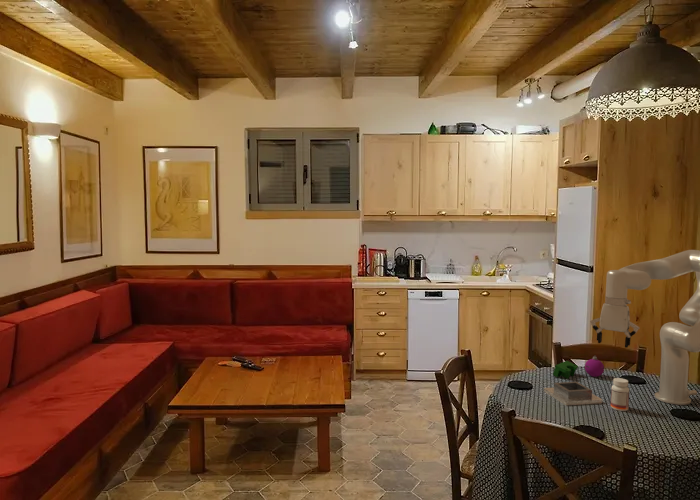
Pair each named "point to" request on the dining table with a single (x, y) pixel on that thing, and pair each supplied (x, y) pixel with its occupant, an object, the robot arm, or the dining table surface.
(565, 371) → the green lumpy block
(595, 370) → the christmas ornament
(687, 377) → the robot arm
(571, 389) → the docking plate
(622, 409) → the pill bottle
